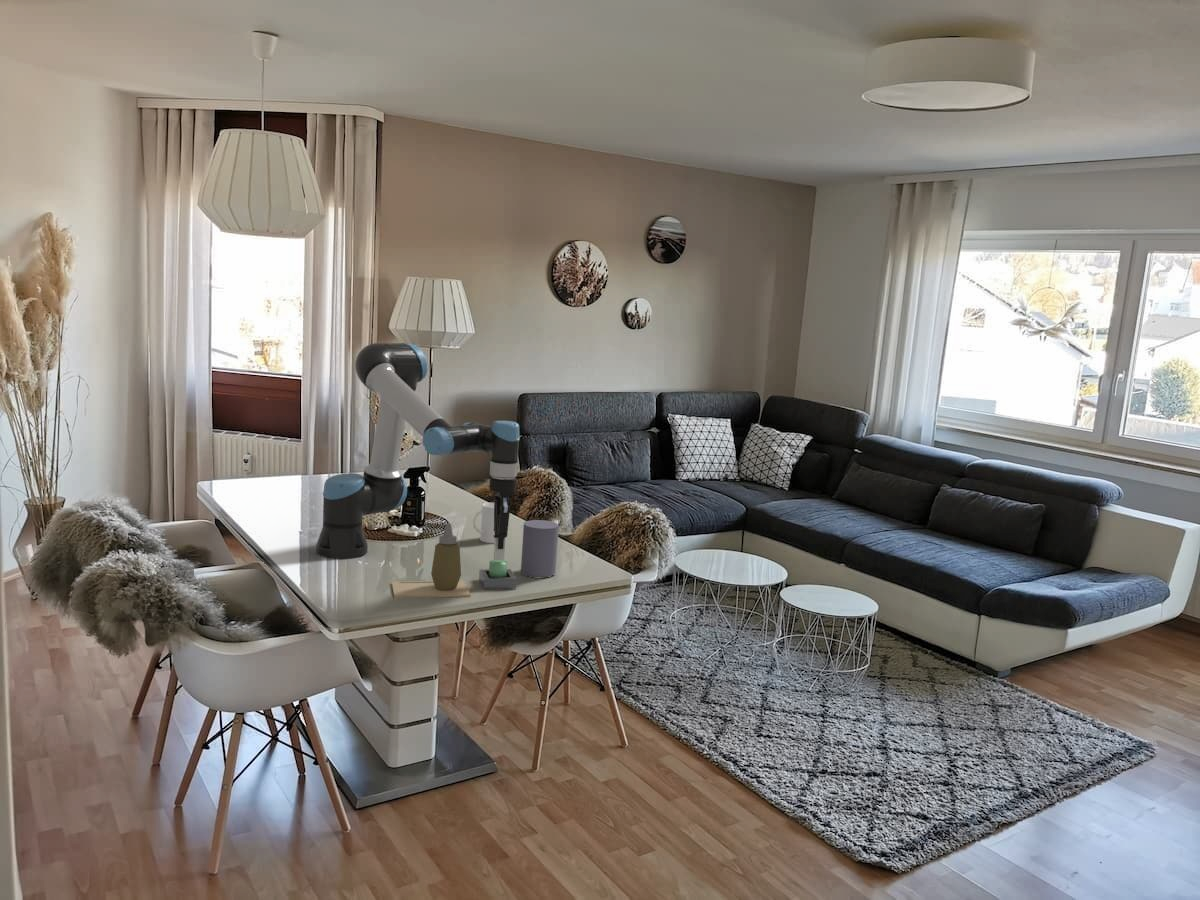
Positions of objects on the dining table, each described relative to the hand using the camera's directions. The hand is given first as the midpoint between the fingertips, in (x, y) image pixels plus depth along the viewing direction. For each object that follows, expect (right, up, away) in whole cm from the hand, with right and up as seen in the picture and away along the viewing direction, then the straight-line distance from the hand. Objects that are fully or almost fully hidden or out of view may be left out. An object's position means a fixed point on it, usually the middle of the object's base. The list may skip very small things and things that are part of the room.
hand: (498, 559), depth 256 cm
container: (+10, -6, +15) cm, 19 cm away
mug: (-9, 0, +47) cm, 48 cm away
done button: (-1, -6, +1) cm, 6 cm away
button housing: (-1, -7, +1) cm, 7 cm away
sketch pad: (-18, -7, -8) cm, 21 cm away
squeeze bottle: (-14, -7, -7) cm, 17 cm away
